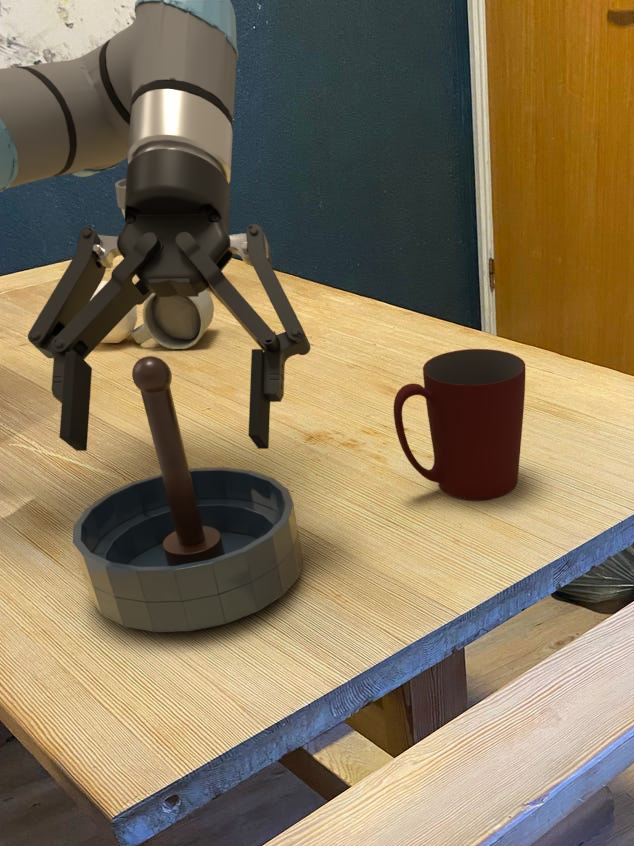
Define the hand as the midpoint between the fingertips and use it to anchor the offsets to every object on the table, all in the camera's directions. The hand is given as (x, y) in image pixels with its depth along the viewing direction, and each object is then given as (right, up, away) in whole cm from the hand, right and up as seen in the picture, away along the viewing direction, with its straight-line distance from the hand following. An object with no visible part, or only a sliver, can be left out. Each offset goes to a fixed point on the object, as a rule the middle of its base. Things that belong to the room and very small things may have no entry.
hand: (165, 443), depth 68 cm
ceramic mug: (-17, +25, +55) cm, 63 cm away
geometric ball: (-25, +25, +55) cm, 66 cm away
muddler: (+1, -9, +6) cm, 11 cm away
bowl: (+1, -10, +7) cm, 12 cm away
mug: (+21, 0, +19) cm, 28 cm away
